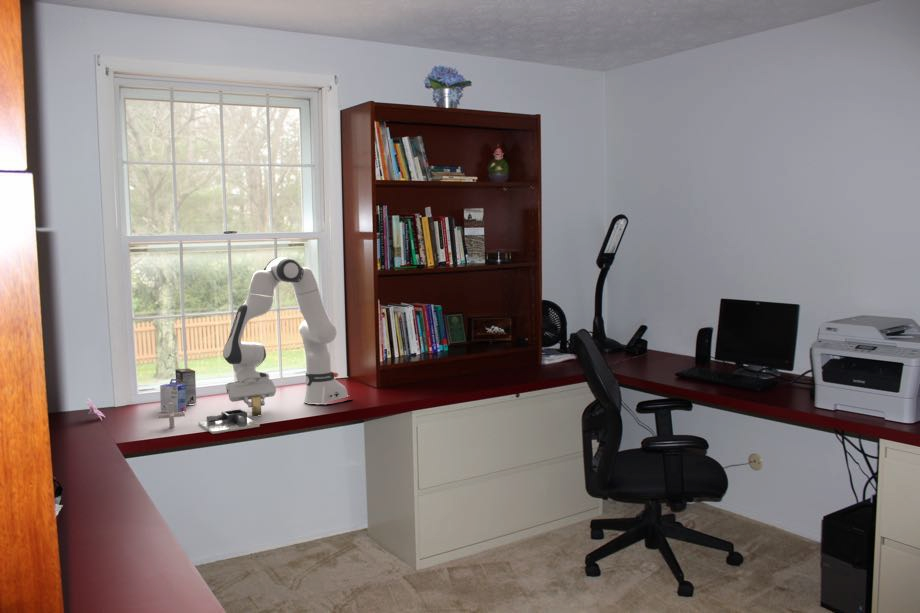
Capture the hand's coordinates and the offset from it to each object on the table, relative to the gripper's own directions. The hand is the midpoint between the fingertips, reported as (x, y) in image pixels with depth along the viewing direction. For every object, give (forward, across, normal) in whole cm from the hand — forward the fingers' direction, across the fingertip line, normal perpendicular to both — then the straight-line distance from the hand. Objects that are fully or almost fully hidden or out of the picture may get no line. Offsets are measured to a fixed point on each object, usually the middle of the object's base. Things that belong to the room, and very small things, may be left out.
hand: (256, 405), depth 319 cm
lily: (-21, -58, +28) cm, 68 cm away
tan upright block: (+3, 0, +4) cm, 4 cm away
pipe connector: (+2, -35, +4) cm, 35 cm away
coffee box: (-28, -18, +34) cm, 47 cm away
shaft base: (+10, -15, -4) cm, 19 cm away
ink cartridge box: (-18, -27, +25) cm, 41 cm away
